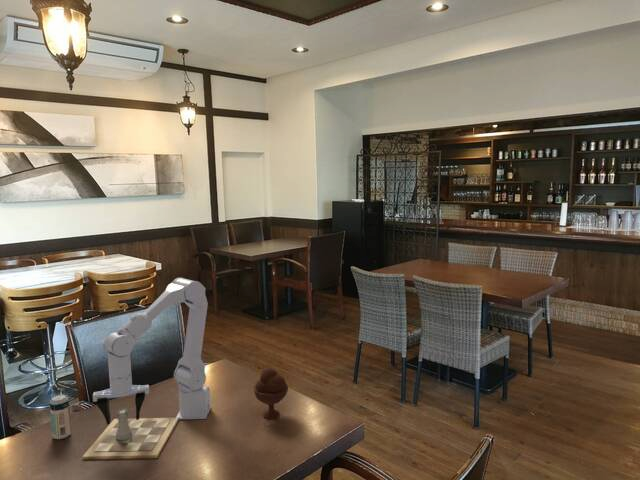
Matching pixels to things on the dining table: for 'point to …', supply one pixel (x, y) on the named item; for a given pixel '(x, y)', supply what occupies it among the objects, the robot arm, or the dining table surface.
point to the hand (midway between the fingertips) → (123, 420)
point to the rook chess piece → (123, 425)
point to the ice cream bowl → (270, 391)
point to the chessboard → (133, 439)
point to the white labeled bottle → (60, 416)
